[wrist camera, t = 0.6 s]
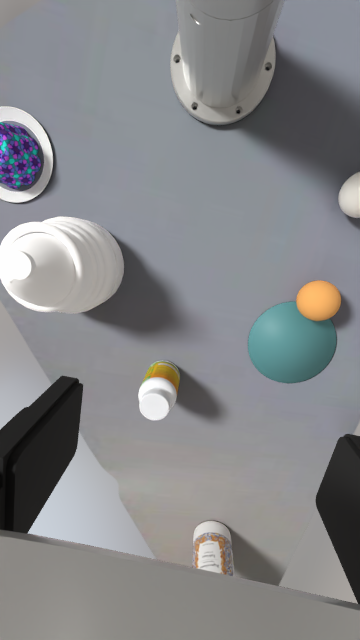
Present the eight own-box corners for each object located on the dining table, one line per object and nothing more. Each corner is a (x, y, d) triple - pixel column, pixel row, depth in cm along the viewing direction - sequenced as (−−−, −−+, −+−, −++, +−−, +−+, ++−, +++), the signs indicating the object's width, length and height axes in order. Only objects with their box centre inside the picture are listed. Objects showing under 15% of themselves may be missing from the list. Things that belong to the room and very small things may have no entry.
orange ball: (286, 287, 42) (298, 293, 37) (323, 272, 41) (341, 276, 36) (298, 321, 43) (311, 331, 38) (335, 307, 42) (354, 316, 37)
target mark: (235, 321, 44) (235, 321, 44) (320, 287, 42) (321, 287, 41) (264, 393, 46) (265, 394, 46) (346, 365, 44) (347, 365, 44)
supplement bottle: (152, 354, 46) (140, 382, 37) (184, 365, 46) (180, 396, 37) (143, 383, 48) (128, 417, 38) (174, 394, 48) (167, 430, 38)
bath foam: (226, 516, 53) (240, 672, 34) (233, 545, 55) (250, 709, 35) (190, 521, 54) (183, 674, 35) (198, 549, 56) (195, 711, 36)
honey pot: (88, 200, 41) (4, 168, 24) (141, 276, 43) (99, 297, 26) (23, 253, 44) (-95, 258, 26) (76, 321, 46) (-1, 368, 28)
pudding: (-24, 198, 42) (-54, 192, 37) (-30, 105, 39) (-64, 84, 34) (55, 207, 42) (35, 202, 37) (55, 113, 39) (33, 93, 34)
